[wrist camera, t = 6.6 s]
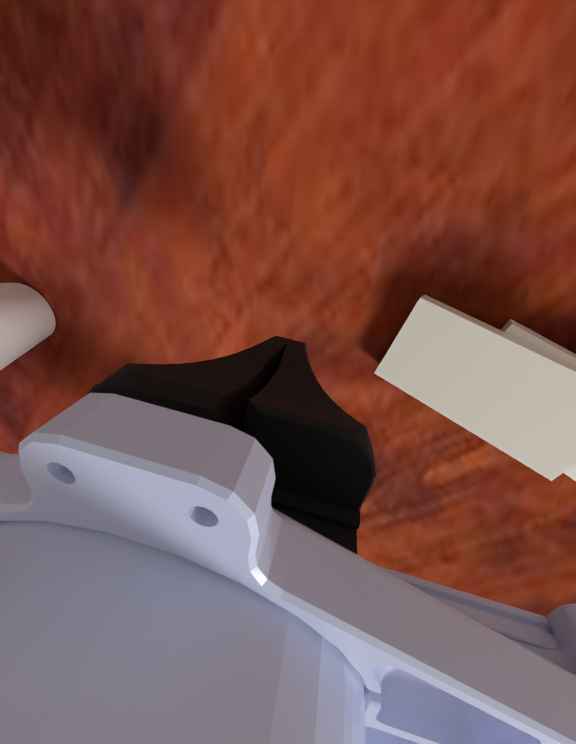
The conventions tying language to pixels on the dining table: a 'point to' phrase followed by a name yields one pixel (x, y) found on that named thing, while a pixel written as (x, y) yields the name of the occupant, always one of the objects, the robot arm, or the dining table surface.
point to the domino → (488, 384)
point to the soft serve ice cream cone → (22, 321)
